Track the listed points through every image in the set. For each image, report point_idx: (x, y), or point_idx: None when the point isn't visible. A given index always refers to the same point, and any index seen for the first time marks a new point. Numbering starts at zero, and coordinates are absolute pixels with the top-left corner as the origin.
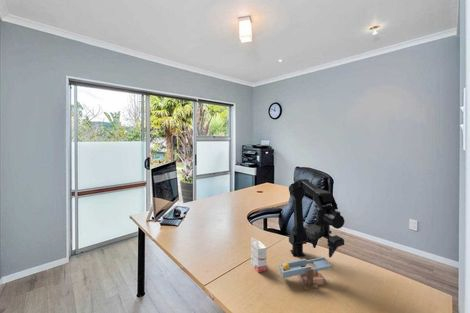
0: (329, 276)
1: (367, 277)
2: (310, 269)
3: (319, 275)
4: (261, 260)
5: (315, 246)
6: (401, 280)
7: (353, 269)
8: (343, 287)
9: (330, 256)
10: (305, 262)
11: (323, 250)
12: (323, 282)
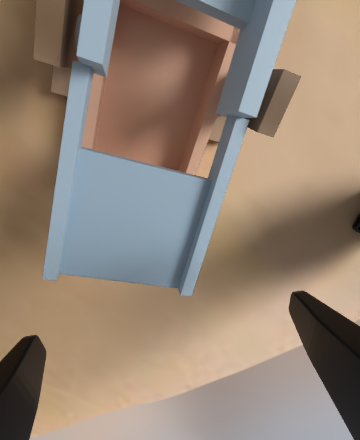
0: None
1: (93, 360)
2: (50, 25)
3: None
4: None
5: (296, 322)
6: (52, 425)
7: (157, 348)
8: (42, 242)
9: (13, 357)
10: (229, 100)
11: None
12: None
